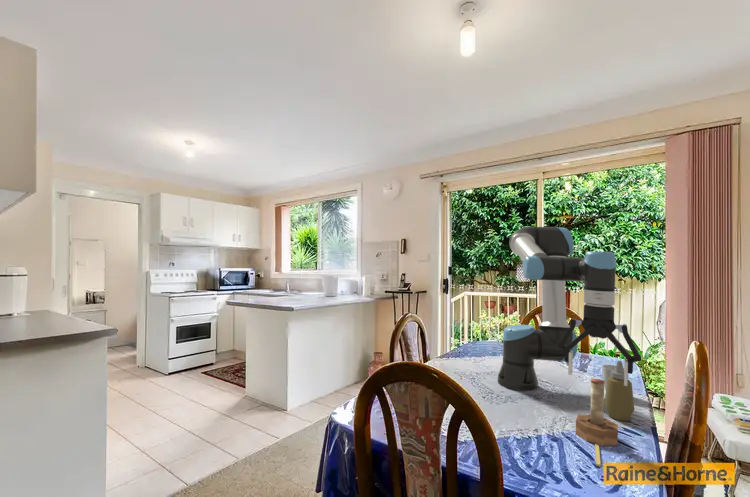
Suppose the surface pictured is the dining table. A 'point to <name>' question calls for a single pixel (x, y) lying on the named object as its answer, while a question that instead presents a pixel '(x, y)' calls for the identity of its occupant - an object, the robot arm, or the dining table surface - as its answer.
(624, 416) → the squeeze bottle
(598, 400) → the needle dowel
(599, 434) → the walnut bead
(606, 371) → the cup
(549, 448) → the dining table surface
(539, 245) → the robot arm
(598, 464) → the pale yellow wooden rod
